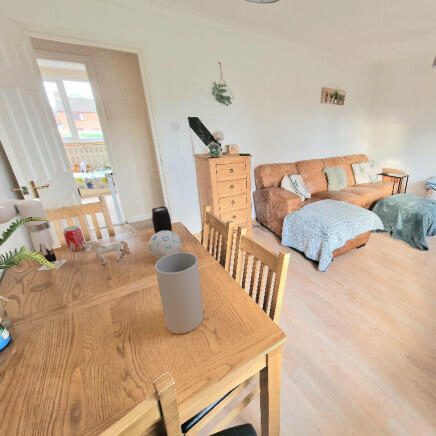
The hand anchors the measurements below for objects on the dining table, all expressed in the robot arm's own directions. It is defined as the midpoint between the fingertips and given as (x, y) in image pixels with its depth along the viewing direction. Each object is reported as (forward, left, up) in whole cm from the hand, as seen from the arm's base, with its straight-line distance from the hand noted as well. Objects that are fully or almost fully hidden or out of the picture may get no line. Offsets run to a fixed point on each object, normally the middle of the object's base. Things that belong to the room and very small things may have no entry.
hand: (52, 261), depth 114 cm
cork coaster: (+16, -10, -1) cm, 19 cm away
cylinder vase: (+82, +6, -2) cm, 83 cm away
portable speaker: (+21, +44, -2) cm, 49 cm away
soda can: (-7, +13, -2) cm, 15 cm away
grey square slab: (+1, -1, -2) cm, 2 cm away
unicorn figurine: (+22, +13, -2) cm, 26 cm away
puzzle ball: (+40, +31, -2) cm, 51 cm away
